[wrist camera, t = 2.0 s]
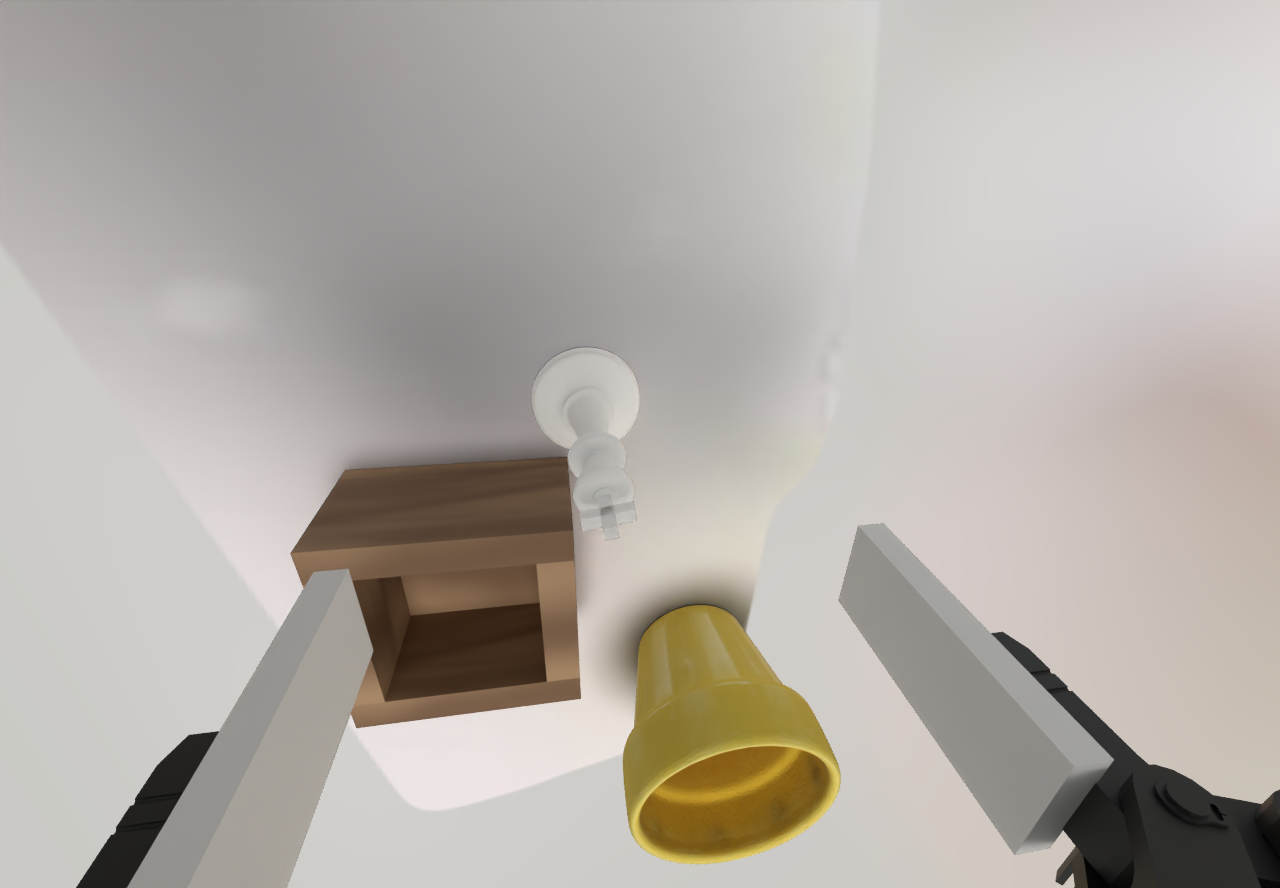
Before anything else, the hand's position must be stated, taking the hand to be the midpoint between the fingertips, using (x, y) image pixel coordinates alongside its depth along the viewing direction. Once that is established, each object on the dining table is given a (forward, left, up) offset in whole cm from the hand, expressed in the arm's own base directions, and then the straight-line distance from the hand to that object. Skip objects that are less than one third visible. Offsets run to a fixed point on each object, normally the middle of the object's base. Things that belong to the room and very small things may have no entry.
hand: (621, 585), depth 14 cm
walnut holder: (+8, -6, -12) cm, 15 cm away
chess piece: (0, 0, -12) cm, 12 cm away
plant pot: (+17, +6, -12) cm, 21 cm away
